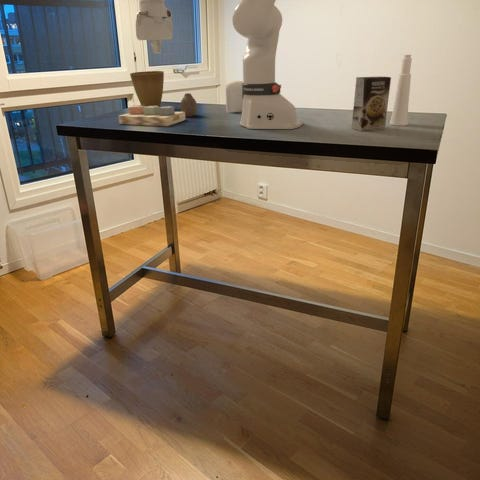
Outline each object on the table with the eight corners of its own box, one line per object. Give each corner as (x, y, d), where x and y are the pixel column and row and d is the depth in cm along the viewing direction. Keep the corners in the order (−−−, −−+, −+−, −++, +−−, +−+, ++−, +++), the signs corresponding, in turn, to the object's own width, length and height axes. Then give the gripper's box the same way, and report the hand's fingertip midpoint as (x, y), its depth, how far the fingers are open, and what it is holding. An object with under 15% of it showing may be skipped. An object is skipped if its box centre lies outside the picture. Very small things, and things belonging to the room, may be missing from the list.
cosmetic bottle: (398, 126, 143) (407, 55, 133) (385, 123, 148) (393, 55, 138) (411, 124, 145) (421, 54, 136) (398, 122, 150) (407, 54, 141)
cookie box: (361, 131, 137) (366, 78, 130) (351, 128, 143) (355, 76, 136) (385, 129, 139) (391, 76, 133) (374, 125, 145) (380, 75, 138)
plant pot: (145, 106, 205) (141, 71, 198) (172, 107, 200) (169, 70, 193) (128, 111, 192) (123, 73, 185) (157, 112, 187) (153, 73, 181)
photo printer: (228, 113, 179) (226, 82, 173) (225, 112, 182) (223, 81, 177) (251, 111, 181) (250, 80, 176) (247, 110, 185) (247, 80, 180)
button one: (145, 113, 167) (144, 105, 166) (139, 115, 164) (138, 106, 162) (136, 113, 169) (135, 105, 167) (130, 115, 165) (128, 106, 164)
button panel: (185, 119, 167) (184, 111, 166) (167, 126, 156) (166, 117, 154) (140, 117, 175) (139, 110, 173) (119, 123, 163) (118, 115, 162)
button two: (174, 114, 163) (173, 106, 161) (168, 116, 159) (168, 107, 158) (164, 114, 164) (163, 105, 163) (158, 116, 161) (157, 107, 159)
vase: (195, 117, 172) (193, 94, 168) (178, 117, 173) (176, 94, 170) (199, 114, 178) (198, 92, 174) (184, 114, 180) (182, 92, 176)
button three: (160, 114, 165) (159, 105, 164) (154, 116, 161) (153, 107, 160) (150, 113, 167) (149, 105, 165) (144, 115, 163) (143, 107, 162)
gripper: (144, 10, 146) (149, 54, 152) (174, 12, 163) (177, 52, 169) (128, 11, 148) (134, 54, 154) (160, 13, 165) (163, 52, 171)
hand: (157, 53), depth 161 cm, fingers closed
